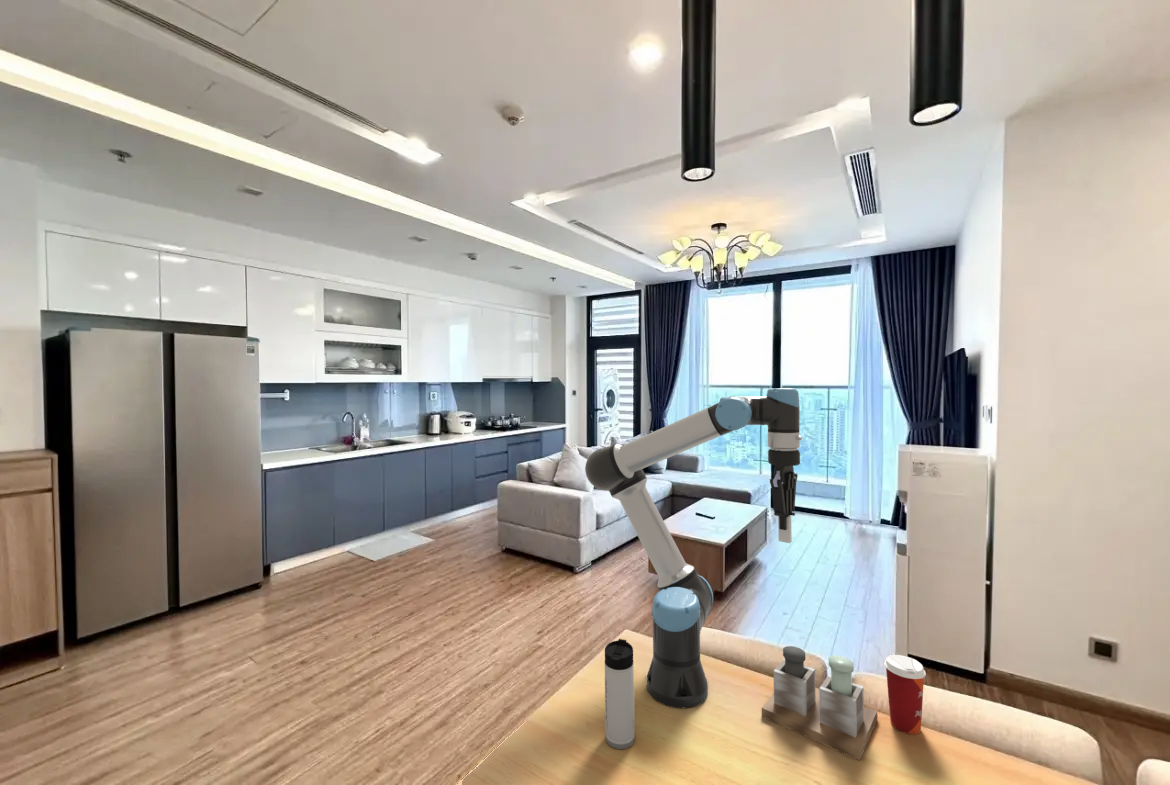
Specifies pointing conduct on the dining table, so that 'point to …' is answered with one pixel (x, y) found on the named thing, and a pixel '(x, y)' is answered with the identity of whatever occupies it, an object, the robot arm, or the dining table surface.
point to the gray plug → (794, 661)
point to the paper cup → (905, 692)
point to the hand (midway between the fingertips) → (785, 541)
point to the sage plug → (841, 674)
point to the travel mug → (619, 694)
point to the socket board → (821, 711)
